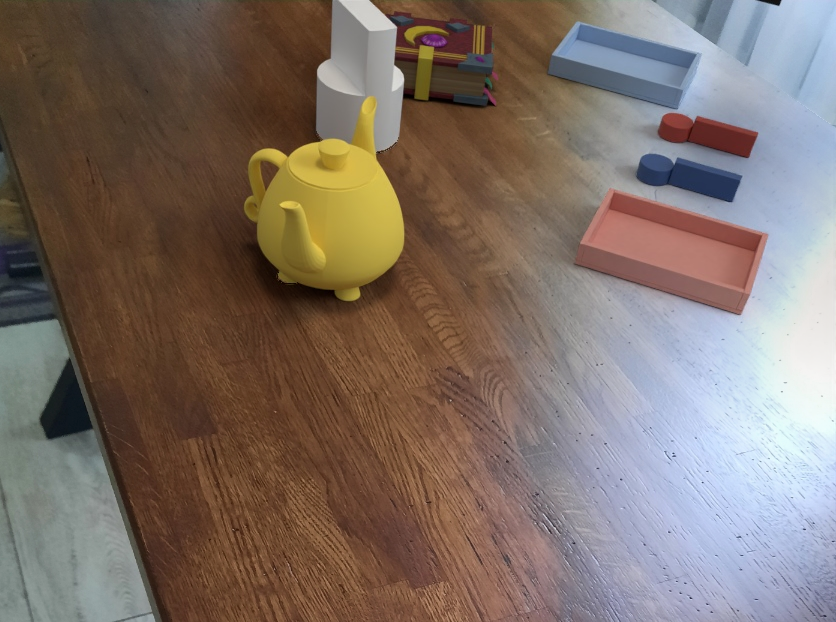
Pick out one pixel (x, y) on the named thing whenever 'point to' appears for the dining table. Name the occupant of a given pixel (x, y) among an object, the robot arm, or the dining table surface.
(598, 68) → the blue tray
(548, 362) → the dining table surface
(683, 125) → the red spoon
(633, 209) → the pink tray
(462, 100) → the decorative book
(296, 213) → the teapot
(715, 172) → the blue spoon
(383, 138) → the base with upright slab
